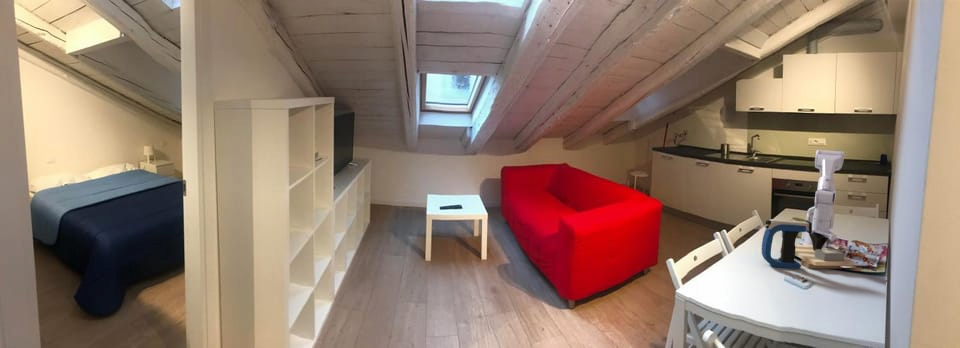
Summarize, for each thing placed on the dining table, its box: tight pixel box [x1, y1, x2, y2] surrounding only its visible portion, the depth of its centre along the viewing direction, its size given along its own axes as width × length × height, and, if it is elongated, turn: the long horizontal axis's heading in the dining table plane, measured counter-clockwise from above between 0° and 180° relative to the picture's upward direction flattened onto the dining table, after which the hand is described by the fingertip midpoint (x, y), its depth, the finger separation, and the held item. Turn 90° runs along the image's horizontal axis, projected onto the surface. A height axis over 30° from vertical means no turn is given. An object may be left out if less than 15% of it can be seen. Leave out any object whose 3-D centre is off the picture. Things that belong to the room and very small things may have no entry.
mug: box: [789, 216, 806, 239], centre depth 221 cm, size 12×10×10 cm
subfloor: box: [779, 244, 856, 269], centre depth 189 cm, size 20×18×4 cm
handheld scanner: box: [761, 218, 812, 270], centre depth 181 cm, size 4×16×19 cm, turn 78°
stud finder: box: [815, 248, 846, 261], centre depth 182 cm, size 5×8×3 cm, turn 91°
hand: (816, 251), depth 189 cm, fingers closed
